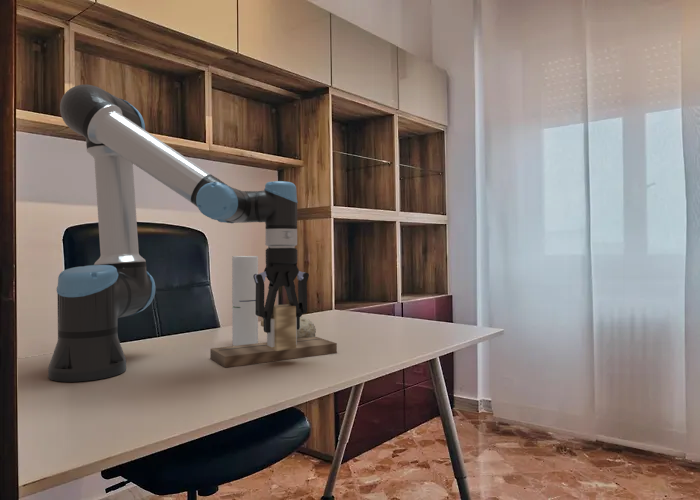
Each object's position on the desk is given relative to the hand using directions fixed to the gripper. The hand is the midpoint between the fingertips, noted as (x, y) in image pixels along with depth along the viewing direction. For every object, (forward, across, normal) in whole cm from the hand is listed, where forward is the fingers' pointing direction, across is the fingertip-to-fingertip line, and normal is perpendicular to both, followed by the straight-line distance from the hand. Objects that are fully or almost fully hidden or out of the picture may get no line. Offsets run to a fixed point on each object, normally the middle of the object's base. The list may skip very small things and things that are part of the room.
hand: (282, 344), depth 120 cm
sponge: (+5, +15, +20) cm, 26 cm away
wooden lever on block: (+1, 0, +4) cm, 5 cm away
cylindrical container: (+5, +1, +27) cm, 28 cm away
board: (+4, +2, +9) cm, 10 cm away
